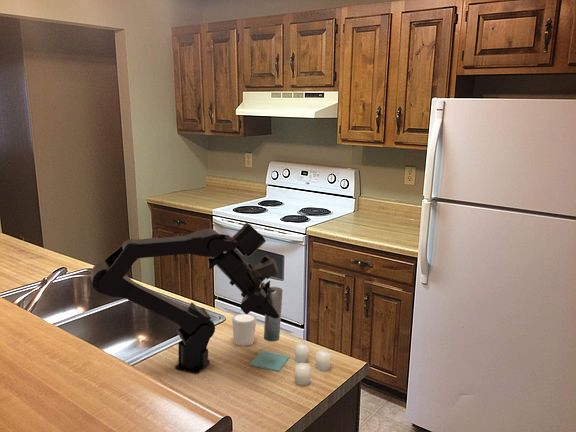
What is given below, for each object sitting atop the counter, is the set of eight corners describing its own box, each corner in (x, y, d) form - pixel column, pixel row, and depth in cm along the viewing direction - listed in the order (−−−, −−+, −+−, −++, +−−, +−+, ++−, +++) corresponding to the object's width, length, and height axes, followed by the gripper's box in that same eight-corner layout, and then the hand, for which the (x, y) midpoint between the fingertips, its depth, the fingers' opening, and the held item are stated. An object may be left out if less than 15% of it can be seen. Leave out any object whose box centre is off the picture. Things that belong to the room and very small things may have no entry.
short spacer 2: (294, 385, 116) (294, 370, 115) (295, 377, 119) (295, 362, 119) (309, 385, 116) (310, 370, 115) (310, 377, 119) (310, 362, 118)
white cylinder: (226, 342, 136) (227, 319, 135) (240, 333, 142) (240, 311, 141) (247, 348, 133) (248, 324, 132) (260, 339, 139) (261, 316, 138)
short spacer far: (314, 369, 124) (314, 354, 123) (317, 363, 127) (318, 348, 126) (327, 372, 123) (328, 357, 122) (331, 365, 126) (332, 351, 125)
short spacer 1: (292, 361, 127) (293, 347, 126) (296, 355, 131) (297, 341, 130) (305, 364, 126) (306, 349, 125) (309, 358, 129) (310, 344, 129)
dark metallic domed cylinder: (261, 339, 124) (264, 290, 121) (267, 333, 127) (270, 286, 125) (276, 342, 122) (279, 293, 120) (281, 336, 126) (284, 288, 124)
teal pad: (249, 365, 124) (249, 363, 124) (261, 351, 132) (261, 350, 132) (279, 371, 122) (279, 370, 122) (289, 357, 129) (289, 356, 129)
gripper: (257, 259, 111) (302, 308, 113) (263, 239, 130) (302, 282, 132) (221, 290, 113) (266, 337, 115) (232, 266, 131) (271, 307, 133)
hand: (278, 314), depth 124 cm, fingers closed on dark metallic domed cylinder, 4 cm apart
